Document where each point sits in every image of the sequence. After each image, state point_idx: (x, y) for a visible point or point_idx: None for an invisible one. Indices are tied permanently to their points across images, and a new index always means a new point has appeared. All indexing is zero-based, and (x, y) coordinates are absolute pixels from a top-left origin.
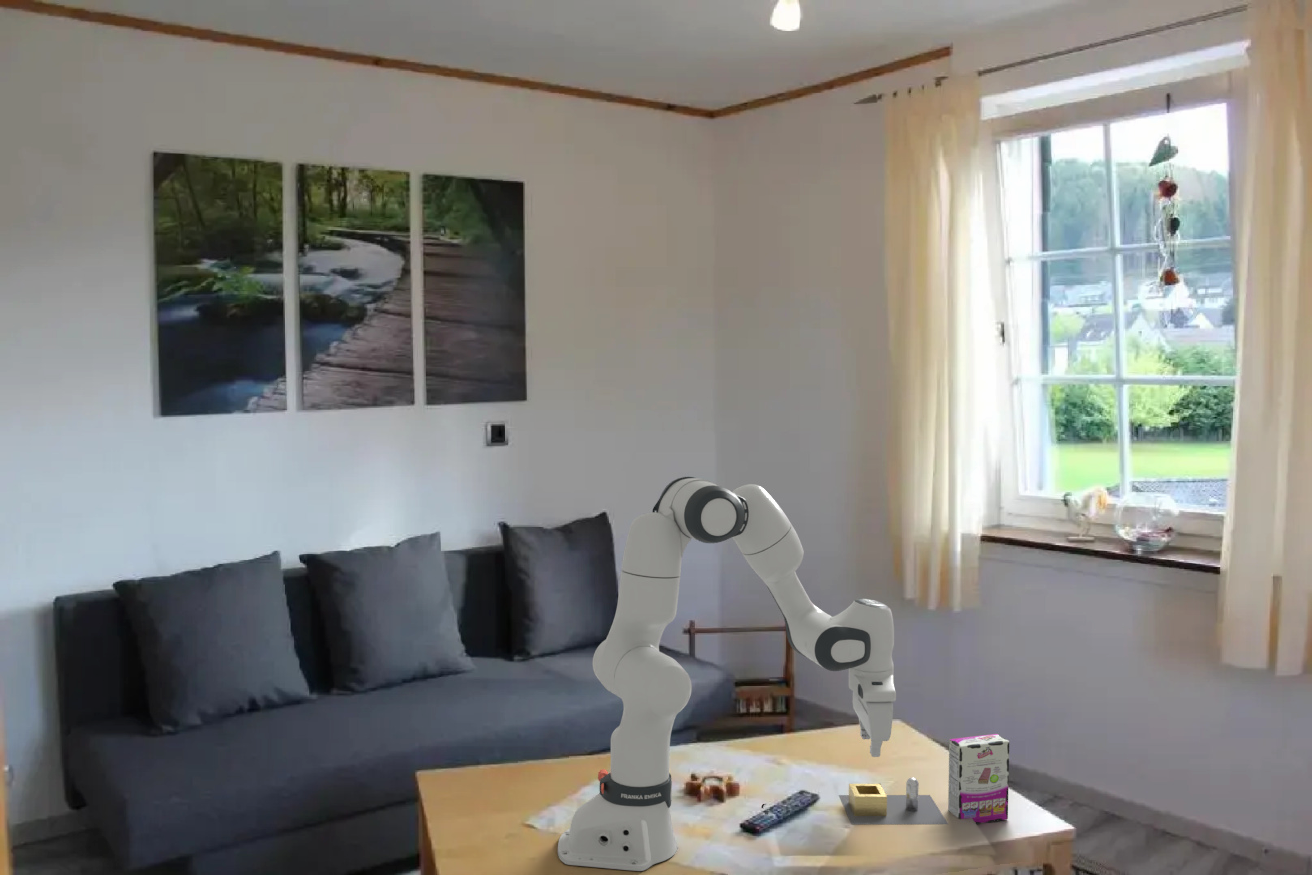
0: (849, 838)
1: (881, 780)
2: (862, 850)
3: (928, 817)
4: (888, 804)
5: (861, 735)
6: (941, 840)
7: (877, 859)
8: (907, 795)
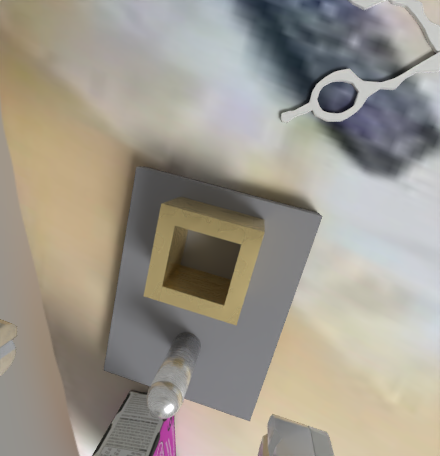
0: (113, 146)
1: (409, 380)
2: (54, 149)
3: (139, 352)
4: None
5: (290, 434)
6: (79, 326)
7: (14, 163)
8: (172, 357)
